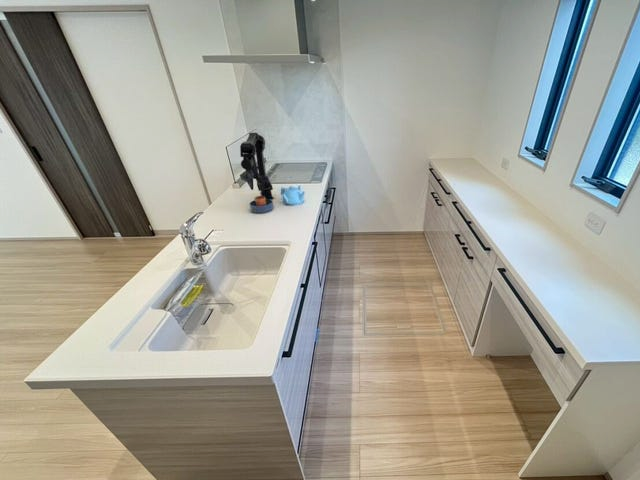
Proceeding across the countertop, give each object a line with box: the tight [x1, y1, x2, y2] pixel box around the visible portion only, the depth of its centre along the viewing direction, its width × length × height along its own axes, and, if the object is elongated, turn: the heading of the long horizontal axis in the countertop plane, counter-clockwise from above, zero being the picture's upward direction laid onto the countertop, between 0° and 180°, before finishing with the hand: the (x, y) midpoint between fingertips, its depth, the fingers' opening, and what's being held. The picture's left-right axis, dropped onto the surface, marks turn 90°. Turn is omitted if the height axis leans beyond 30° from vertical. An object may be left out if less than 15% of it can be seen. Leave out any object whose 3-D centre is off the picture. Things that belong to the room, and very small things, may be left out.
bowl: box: [248, 199, 274, 214], centre depth 197 cm, size 14×14×5 cm
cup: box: [253, 195, 267, 206], centre depth 196 cm, size 6×6×8 cm
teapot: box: [280, 185, 306, 206], centre depth 207 cm, size 15×15×11 cm
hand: (257, 191), depth 193 cm, fingers open, 9 cm apart
